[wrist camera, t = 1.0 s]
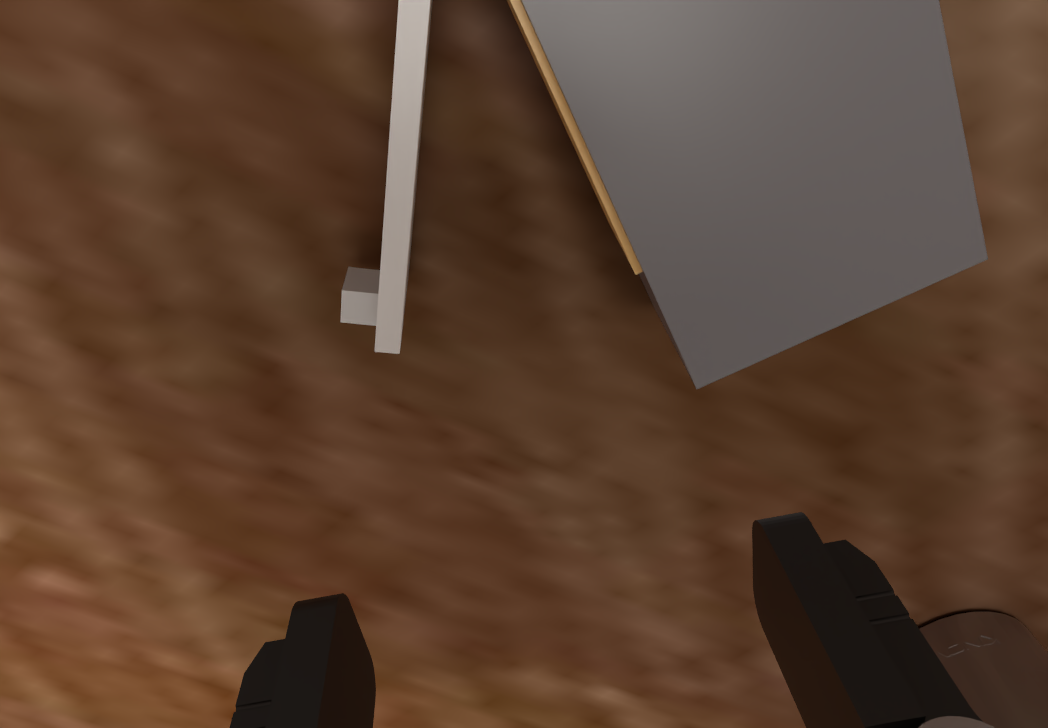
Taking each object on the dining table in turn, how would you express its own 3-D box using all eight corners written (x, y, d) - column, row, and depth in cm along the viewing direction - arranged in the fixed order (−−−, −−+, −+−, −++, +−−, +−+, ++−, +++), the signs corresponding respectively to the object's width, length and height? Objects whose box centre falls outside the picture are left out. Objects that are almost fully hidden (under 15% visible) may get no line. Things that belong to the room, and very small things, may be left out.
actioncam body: (888, 195, 31) (1003, 268, 24) (647, 309, 32) (696, 405, 26) (719, -476, 21) (838, -648, 14) (384, -265, 22) (358, -335, 16)
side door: (412, 281, 30) (405, 357, 25) (352, 275, 30) (333, 350, 25) (451, -141, 24) (452, -157, 18) (374, -156, 23) (353, -176, 18)
